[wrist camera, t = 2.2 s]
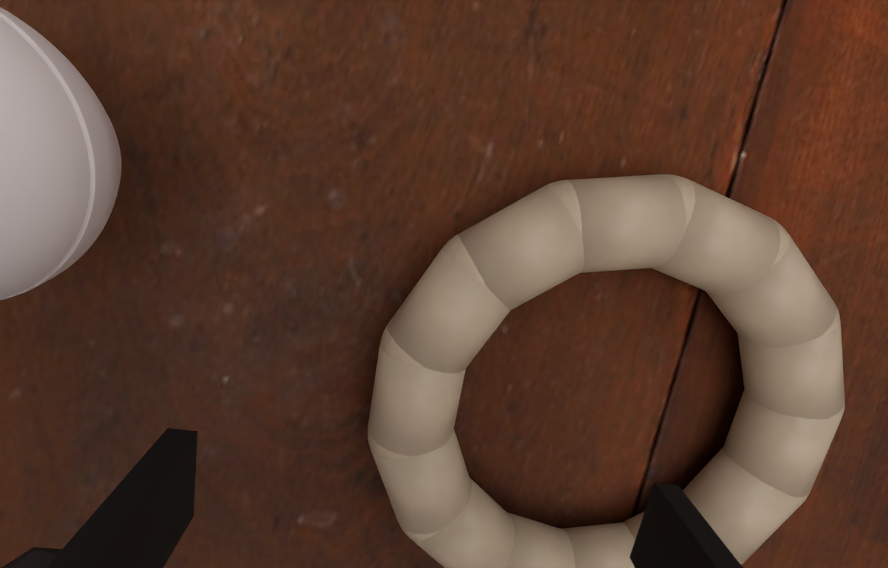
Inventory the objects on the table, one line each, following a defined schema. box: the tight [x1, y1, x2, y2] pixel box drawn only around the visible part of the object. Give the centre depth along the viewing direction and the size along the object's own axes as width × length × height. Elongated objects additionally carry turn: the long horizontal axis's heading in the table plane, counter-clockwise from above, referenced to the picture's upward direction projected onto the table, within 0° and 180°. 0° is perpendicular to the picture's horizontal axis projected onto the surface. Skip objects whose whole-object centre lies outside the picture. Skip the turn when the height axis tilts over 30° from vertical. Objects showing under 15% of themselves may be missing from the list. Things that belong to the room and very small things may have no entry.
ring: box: [368, 174, 845, 568], centre depth 21 cm, size 20×21×4 cm
